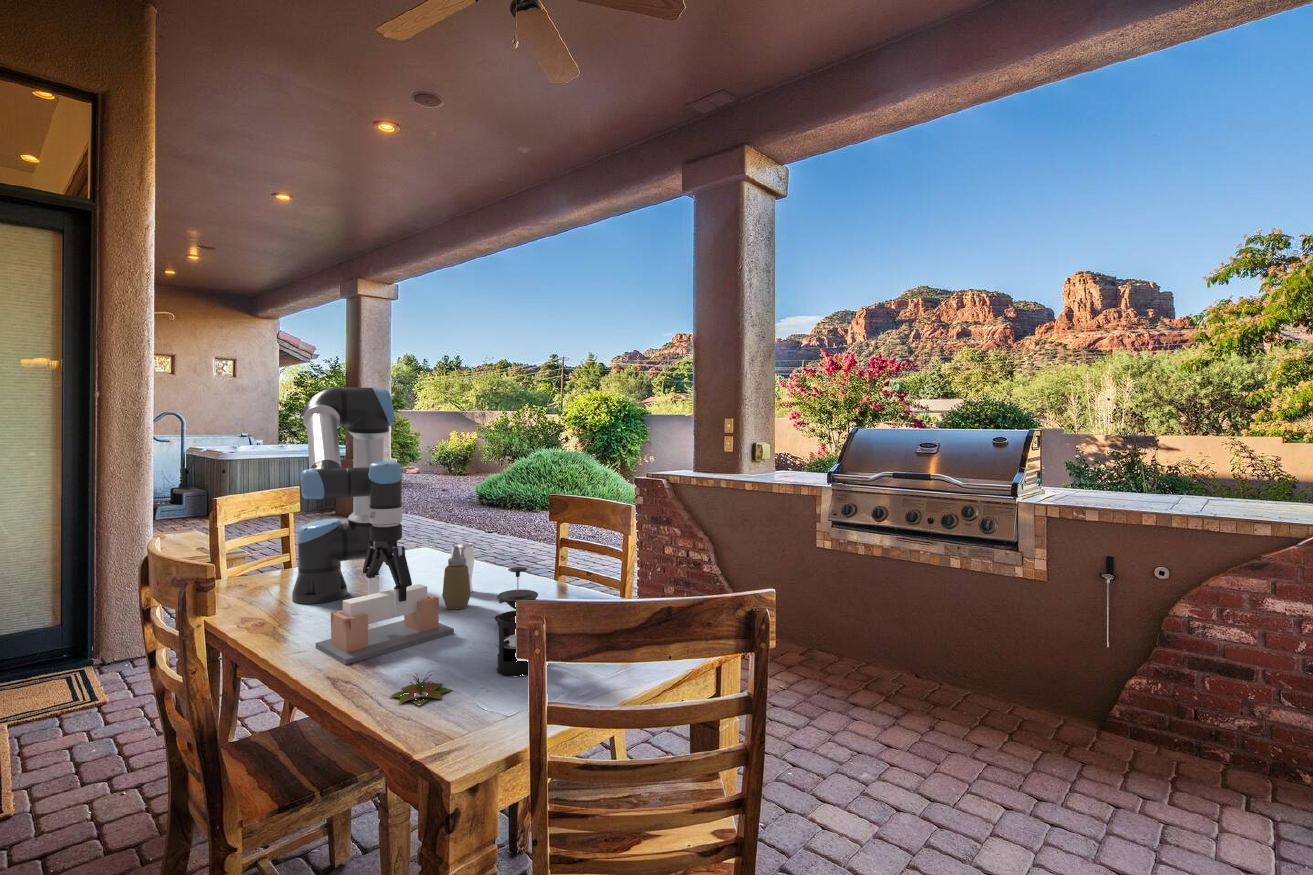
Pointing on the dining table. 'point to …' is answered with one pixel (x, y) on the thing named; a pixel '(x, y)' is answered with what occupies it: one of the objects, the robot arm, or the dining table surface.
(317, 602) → the robot arm
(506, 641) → the french press
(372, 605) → the slat
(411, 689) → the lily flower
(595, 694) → the dining table surface
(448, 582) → the squeeze bottle
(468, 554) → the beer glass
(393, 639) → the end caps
